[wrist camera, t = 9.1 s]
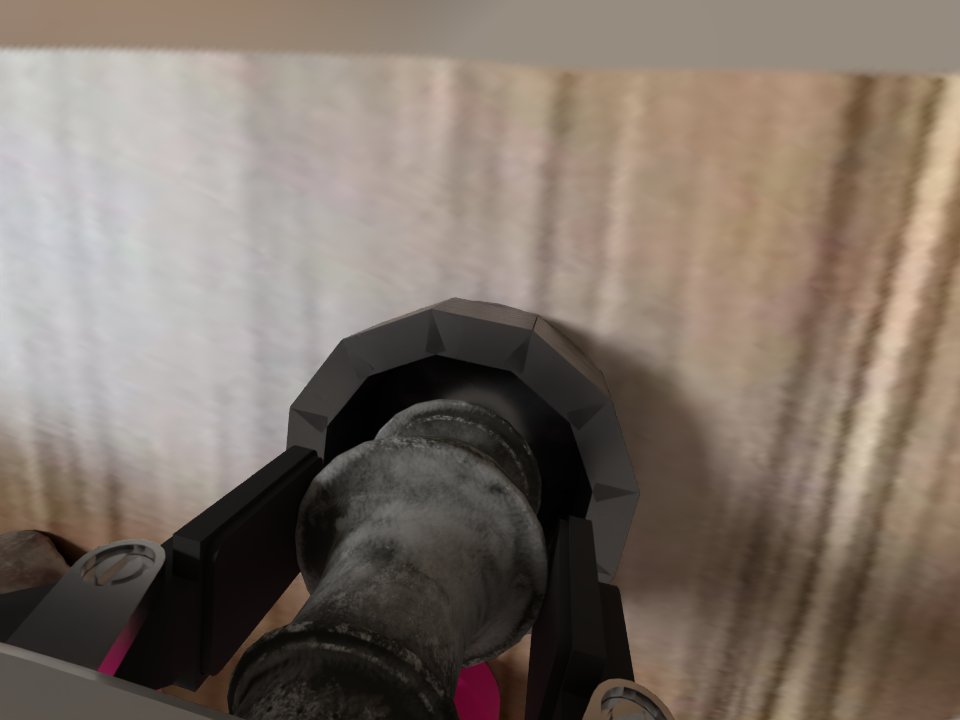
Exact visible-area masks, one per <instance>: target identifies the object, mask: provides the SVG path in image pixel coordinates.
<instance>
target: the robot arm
mask: <svg viewBox="0 0 960 720" xmlns="http://www.w3.org/2000/svg"><path fill="white" fill-rule="evenodd" d="M322 468H323V459H322V458H321V457H318V453H317V451H316V450H313V449H309V448H305V447H301V446H297V445H294V446H292V447H290V448H289V449H287V450H286V451H285V452H283V453H282V454H281V455H279V456H278V457H277V458H275V459H274V460H273V461H271V462H270V463H269V464H267V465H266V466H265V467H263V468H262V469H260V470H259V471H258V472H256V473H255V474H254V475H252V476H251V477H250V478H248V479H247V480H246V481H244V482H243V483H242V484H240V485H239V486H237V487H236V488H235V489H233V490H232V491H231V492H229V493H228V494H227V495H225V496H224V497H223V498H221V499H220V500H219V501H217V502H216V503H215V504H213V505H212V506H210V507H209V508H208V509H206V510H205V511H204V512H202V513H201V514H200V515H198V516H197V517H196V518H194V519H193V520H192V521H190V522H189V523H188V524H186V525H185V526H183V527H182V528H181V529H179V530H178V531H177V532H175V533H174V534H173V536H172V537H171V538H170V539H168V540H167V541H166V542H164V543H163V544H161V545H159V544H157V543H155V542H152V541H150V540H142V539H130V540H121V541H117V542H112V543H108V544H106V545H103V546H100V547H98V548H95V549H94V550H92V551H90V552H88V553H87V554H85V555H83V556H82V557H81V558H80V559H79V560H78V561H76V562H75V563H74V564H73V565H72V567H71V568H70V569H69V570H68V571H67V572H66V573H65V575H64V576H63V577H62V578H61V579H60V580H59V582H55V583H50V584H46V585H41V586H37V587H32V588H27V589H23V590H18V591H13V592H9V593H4V594H0V720H245V719H242V718H239V717H236V716H233V715H230V714H227V713H224V712H221V711H218V710H215V709H212V708H209V707H206V706H203V705H200V704H197V703H193V702H190V701H187V700H184V699H181V698H178V697H175V696H172V695H169V694H166V693H163V692H162V691H163V688H164V687H167V686H169V685H172V684H173V685H176V686H179V687H182V688H185V689H188V690H191V691H194V692H196V690H197V689H198V688H199V687H200V686H201V684H202V683H203V682H204V681H205V679H206V678H207V677H208V676H209V675H212V676H215V675H217V674H218V673H219V672H220V671H221V670H222V669H223V667H224V666H225V665H226V664H227V662H228V661H229V660H230V659H231V657H232V656H233V655H234V654H235V652H236V651H237V650H238V649H239V647H240V646H241V645H242V644H243V642H244V641H245V640H246V639H247V637H248V636H249V635H250V634H251V632H252V631H253V630H254V629H255V627H256V626H257V625H258V624H259V623H260V621H261V620H262V619H263V618H264V616H265V615H266V614H267V613H268V611H269V610H270V609H271V608H272V606H273V605H274V604H275V603H276V601H277V600H278V599H279V598H280V596H281V595H282V594H283V593H284V591H285V590H286V589H287V588H288V586H289V585H290V584H291V583H292V581H293V580H294V579H295V578H296V576H297V575H298V574H299V573H300V572H301V571H300V568H299V565H298V562H297V555H296V544H295V530H296V524H297V517H298V511H299V506H300V503H301V501H302V499H303V497H304V495H305V493H306V492H307V490H308V488H309V486H310V484H311V482H312V480H313V479H314V478H315V477H316V476H317V475H318V474H319V473H320V472H321V471H322ZM549 557H550V562H549V581H548V585H547V590H546V594H545V597H544V601H543V604H542V608H541V611H540V614H539V616H538V619H537V620H536V622H535V623H534V624H533V625H532V634H531V647H530V659H529V672H528V684H527V697H526V709H525V720H675V719H674V717H673V715H672V714H671V712H670V710H669V709H668V707H667V706H666V705H665V704H664V703H663V702H662V701H661V700H660V699H659V698H658V697H657V696H656V695H655V694H653V693H652V692H651V691H649V690H648V689H646V688H645V687H643V686H641V685H639V684H637V683H635V680H634V674H633V668H632V662H631V656H630V650H629V644H628V638H627V632H626V626H625V620H624V614H623V608H622V602H621V596H620V591H619V588H618V587H617V586H613V585H610V584H606V583H602V582H599V581H598V572H597V563H596V553H595V544H594V535H593V525H592V521H591V520H587V519H583V518H579V517H575V516H571V515H568V517H567V520H562V519H559V520H558V522H557V526H556V530H555V534H554V538H553V542H552V545H551V549H550V553H549Z"/></svg>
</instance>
